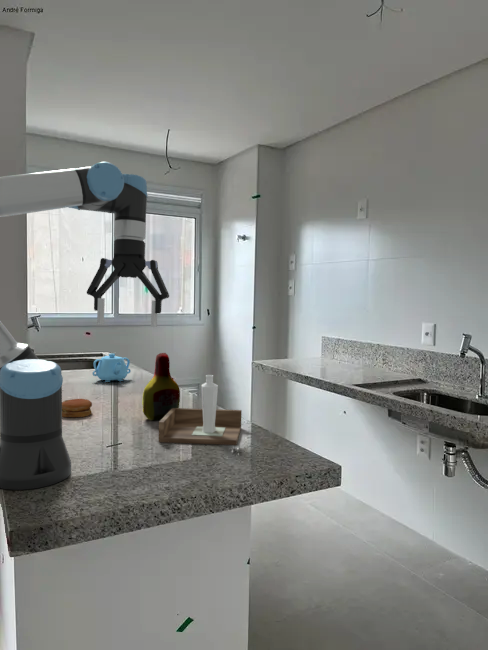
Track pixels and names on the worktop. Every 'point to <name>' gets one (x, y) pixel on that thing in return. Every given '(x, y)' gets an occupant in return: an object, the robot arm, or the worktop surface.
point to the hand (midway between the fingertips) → (127, 325)
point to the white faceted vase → (209, 404)
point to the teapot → (111, 368)
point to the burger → (76, 408)
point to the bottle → (160, 391)
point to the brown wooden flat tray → (199, 427)
